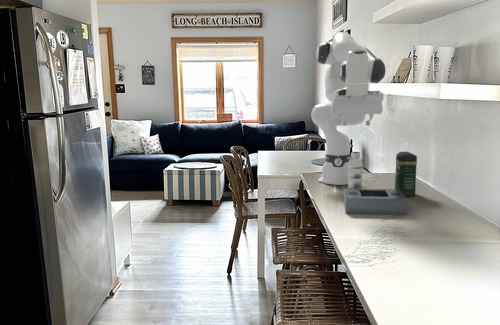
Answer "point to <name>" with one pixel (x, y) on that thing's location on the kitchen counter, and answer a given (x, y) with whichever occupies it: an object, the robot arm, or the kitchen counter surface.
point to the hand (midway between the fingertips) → (356, 125)
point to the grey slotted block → (375, 201)
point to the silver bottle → (355, 171)
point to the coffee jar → (406, 173)
